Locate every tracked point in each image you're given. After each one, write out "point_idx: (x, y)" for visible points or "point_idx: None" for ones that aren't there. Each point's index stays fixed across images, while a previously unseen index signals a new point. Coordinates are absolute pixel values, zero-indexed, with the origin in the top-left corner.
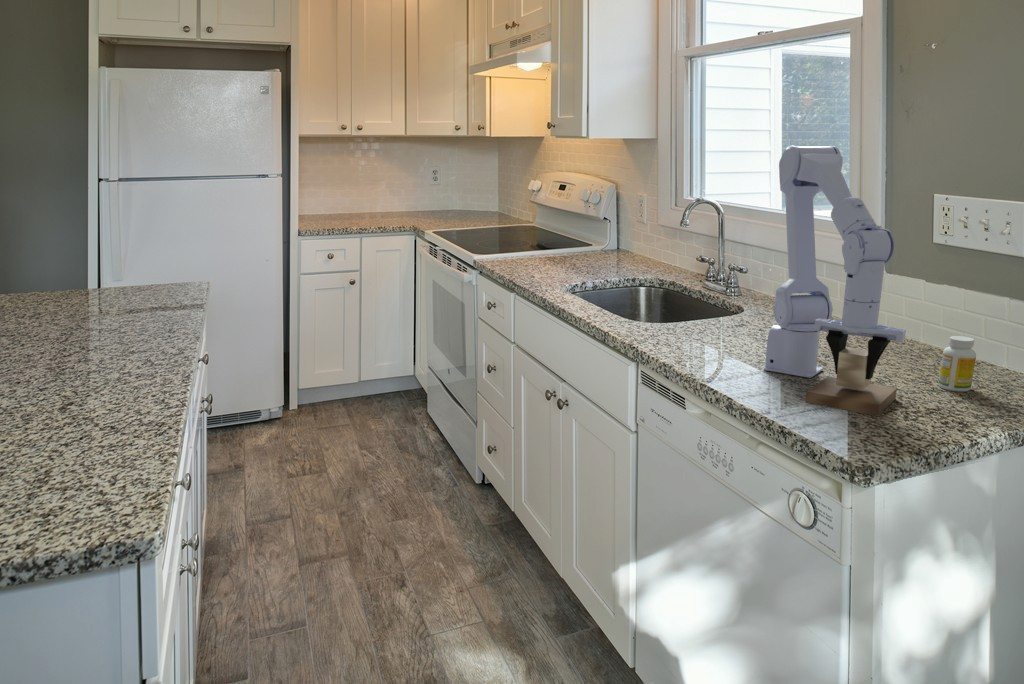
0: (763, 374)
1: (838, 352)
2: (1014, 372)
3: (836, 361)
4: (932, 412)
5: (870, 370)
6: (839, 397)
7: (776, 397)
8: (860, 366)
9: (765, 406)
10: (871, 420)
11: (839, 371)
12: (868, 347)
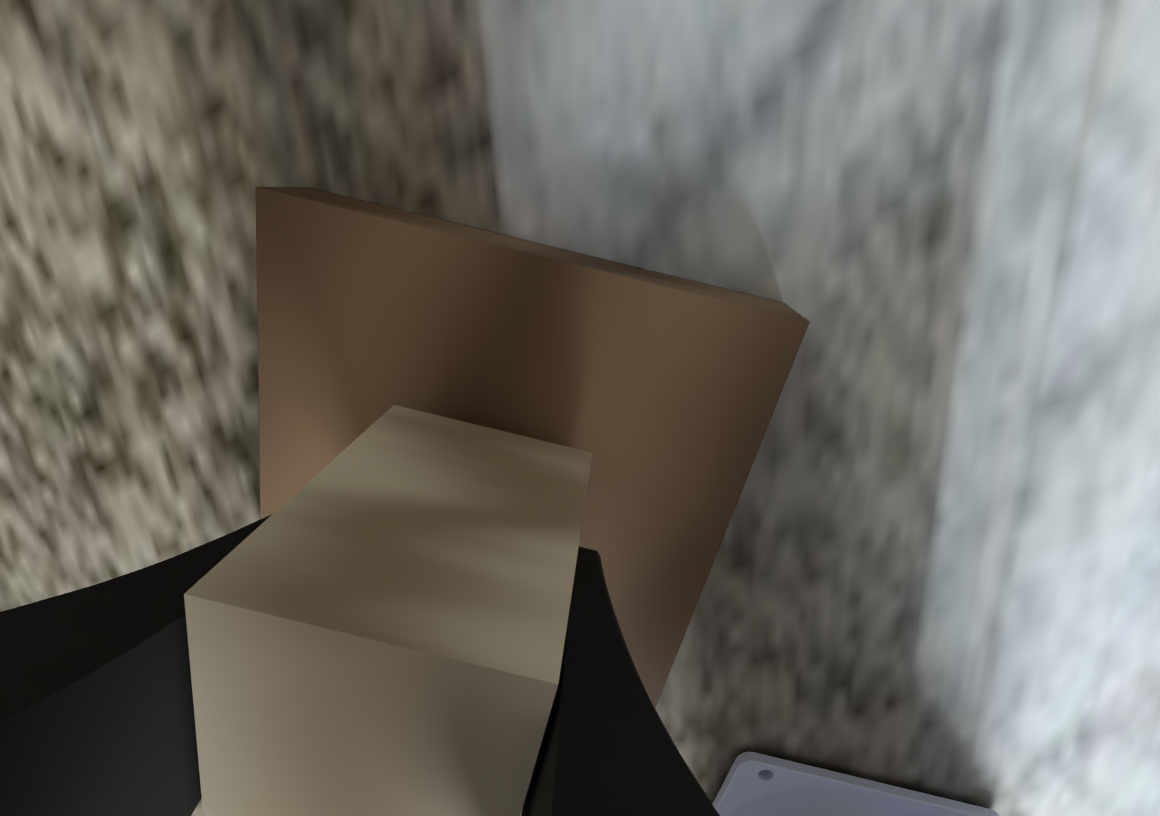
0: (1006, 751)
1: (571, 702)
2: None
3: (595, 621)
4: (87, 411)
5: (266, 517)
6: (552, 259)
7: (991, 333)
8: (334, 518)
9: (1135, 32)
10: (326, 59)
11: (561, 511)
12: (18, 704)
